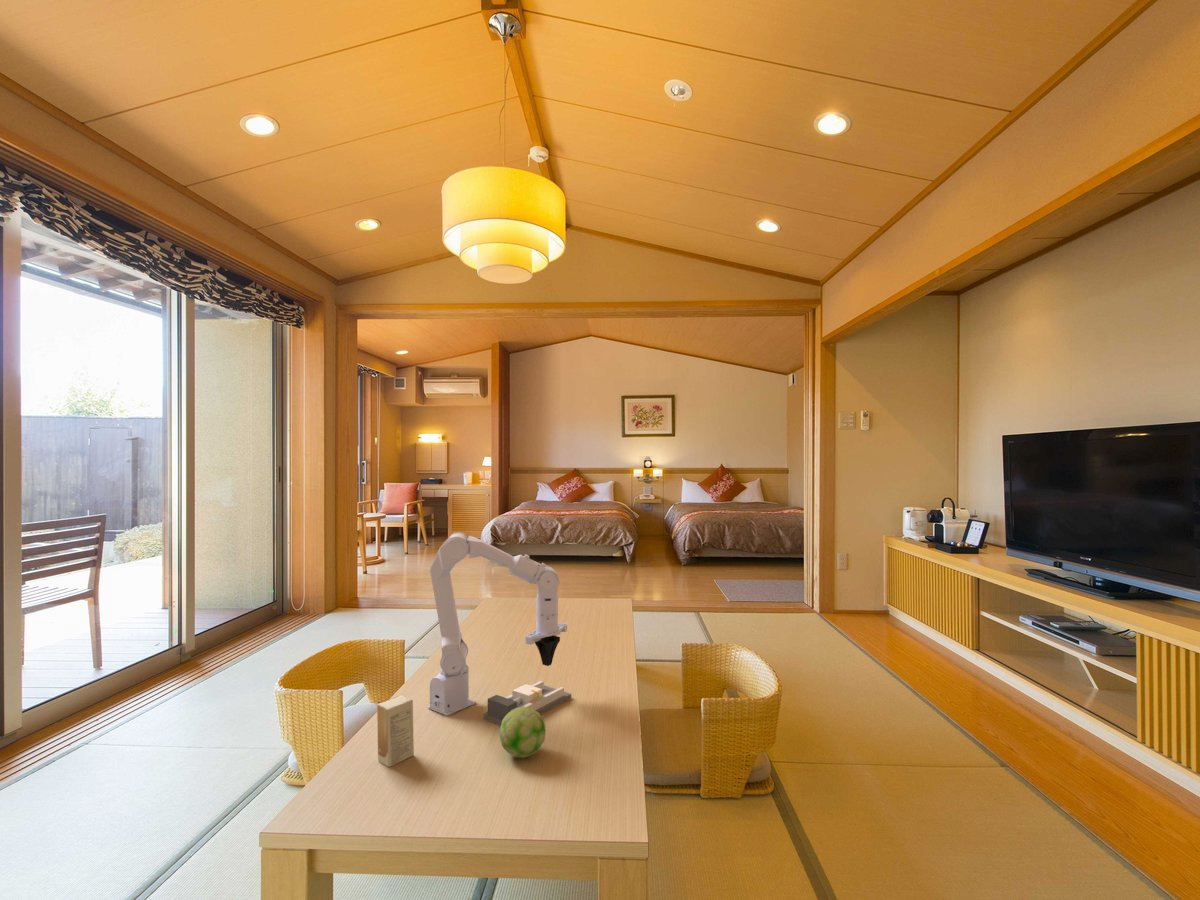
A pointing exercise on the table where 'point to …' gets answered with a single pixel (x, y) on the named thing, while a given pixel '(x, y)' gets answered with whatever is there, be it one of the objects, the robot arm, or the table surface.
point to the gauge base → (504, 705)
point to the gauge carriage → (525, 694)
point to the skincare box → (395, 730)
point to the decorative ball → (522, 732)
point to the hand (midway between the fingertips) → (546, 664)
